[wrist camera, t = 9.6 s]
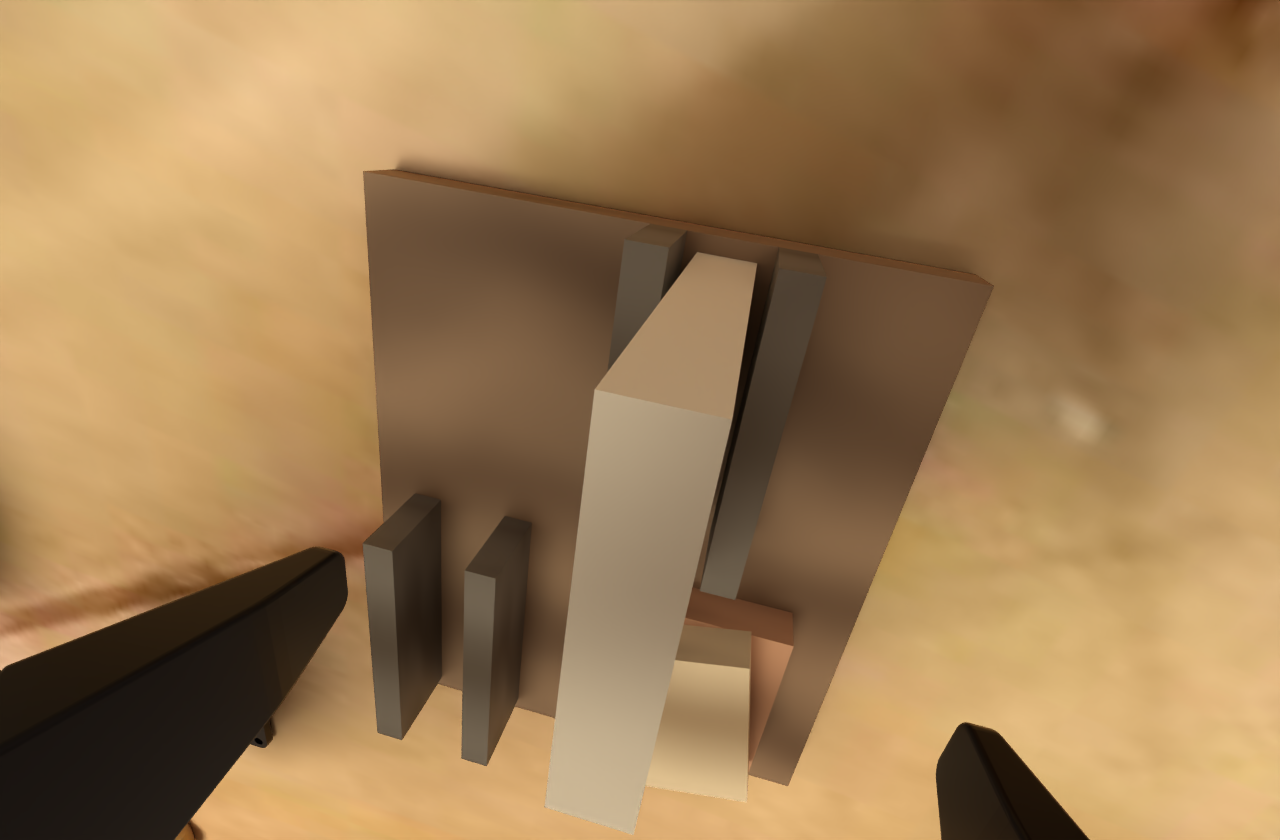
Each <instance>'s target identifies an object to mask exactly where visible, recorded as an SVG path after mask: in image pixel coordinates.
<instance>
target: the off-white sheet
mask: <svg viewBox="0 0 1280 840" xmlns="http://www.w3.org/2000/svg"><path fill="white" fill-rule="evenodd" d="M756 268H757V263H753V262H748V261H742V260H737V259H731V258H726V257H721V256H715V255H710V254H704V253H699V252H697V253H696V254H695V256H694V257H693V259H692V260H691V261H690V263H689V264H688V265H687V267H686V268H685V269H684V271H683V272H682V273H681V275H680V276H679V277H678V279H677V280H676V281H675V283H674V284H673V285H672V287H671V288H670V289H669V291H668V292H667V293H666V295H665V296H664V297H663V299H662V300H661V301H660V303H659V304H658V305H657V307H656V308H655V309H654V311H653V312H652V313H651V315H650V316H649V317H648V319H647V320H646V321H645V323H644V324H643V325H642V327H641V328H640V329H639V331H638V332H637V333H636V335H635V336H634V337H633V339H632V340H631V341H630V343H629V344H628V345H627V347H626V348H625V349H624V351H623V352H622V353H621V355H620V356H619V357H618V359H617V360H616V361H615V363H614V364H613V365H612V367H611V368H610V369H609V371H608V372H607V374H606V375H605V376H604V378H603V379H602V380H601V382H600V383H599V384H598V386H597V387H596V388H595V390H594V398H593V407H592V415H591V423H590V432H589V440H588V449H587V457H586V465H585V474H584V482H583V490H582V499H581V507H580V515H579V524H578V532H577V540H576V549H575V557H574V565H573V574H572V582H571V591H570V599H569V607H568V616H567V624H566V632H565V641H564V649H563V657H562V666H561V674H560V682H559V691H558V699H557V707H556V716H555V724H554V732H553V741H552V749H551V758H550V766H549V774H548V783H547V791H546V799H545V808H549V809H552V810H555V811H558V812H561V813H565V814H568V815H571V816H574V817H577V818H581V819H584V820H587V821H590V822H593V823H597V824H600V825H603V826H606V827H609V828H613V829H616V830H619V831H622V832H625V833H629V834H632V835H634V831H635V826H636V822H637V818H638V814H639V810H640V805H641V801H642V797H643V793H644V789H645V784H646V780H647V776H648V772H649V768H650V763H651V759H652V755H653V751H654V747H655V742H656V738H657V734H658V730H659V726H660V721H661V717H662V713H663V709H664V705H665V700H666V696H667V692H668V688H669V683H670V679H671V675H672V671H673V667H674V662H675V658H676V654H677V650H678V646H679V641H680V637H681V633H682V629H683V625H684V620H685V616H686V612H687V608H688V604H689V599H690V595H691V591H692V587H693V583H694V578H695V574H696V570H697V566H698V562H699V557H700V553H701V549H702V545H703V541H704V536H705V532H706V528H707V524H708V520H709V515H710V511H711V507H712V503H713V499H714V494H715V490H716V486H717V482H718V478H719V473H720V469H721V465H722V461H723V457H724V452H725V448H726V444H727V440H728V436H729V431H730V427H731V423H732V418H733V412H734V406H735V400H736V393H737V387H738V381H739V375H740V368H741V362H742V356H743V349H744V343H745V337H746V331H747V324H748V318H749V312H750V306H751V299H752V293H753V287H754V281H755V274H756Z"/></svg>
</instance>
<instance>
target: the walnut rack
mask: <svg viewBox="0 0 1280 840" xmlns="http://www.w3.org/2000/svg"><path fill="white" fill-rule="evenodd" d="M363 175H364V193H365V210H366V227H367V244H368V262H369V279H370V296H371V313H372V331H373V348H374V365H375V382H376V400H377V417H378V434H379V451H380V468H381V486H382V503H383V520H384V523H383V524H382V525H381V526H380V527H379V528H378V529H377V530H376V531H375V532H374V533H373V534H372V535H371V536H370V537H369V538H368V539H367V540H366V541H365V542H364V543H363V553H364V566H365V579H366V592H367V604H368V617H369V630H370V642H371V655H372V668H373V681H374V693H375V706H376V719H377V731H378V733H380V734H383V735H387V736H390V737H393V738H396V739H400V740H402V739H403V738H404V736H405V735H406V733H407V731H408V730H409V728H410V727H411V725H412V723H413V722H414V720H415V719H416V717H417V716H418V714H419V712H420V711H421V709H422V708H423V706H424V704H425V703H426V701H427V700H428V698H429V696H430V695H431V693H432V692H433V690H434V689H435V687H436V685H437V684H440V685H444V686H447V687H451V688H454V689H457V690H461V691H463V698H462V757H461V758H462V759H465V760H468V761H471V762H475V763H478V764H481V765H484V766H487V765H488V762H489V760H490V758H491V756H492V754H493V752H494V750H495V748H496V745H497V743H498V741H499V739H500V737H501V735H502V733H503V730H504V728H505V726H506V724H507V722H508V720H509V718H510V715H511V713H512V711H513V709H514V707H519V708H522V709H526V710H529V711H533V712H536V713H539V714H543V715H546V716H550V717H553V718H555V716H556V707H557V699H558V691H559V682H560V674H561V666H562V657H563V649H564V641H565V632H566V624H567V616H568V607H569V599H570V591H571V582H572V574H573V565H574V557H575V549H576V540H577V532H578V524H579V515H580V507H581V499H582V490H583V482H584V474H585V465H586V457H587V449H588V440H589V432H590V423H591V415H592V407H593V398H594V390H595V388H596V387H597V386H598V384H599V383H600V382H601V380H602V379H603V378H604V376H605V375H606V374H607V372H608V371H609V369H610V368H611V367H612V365H613V364H614V363H615V361H616V360H617V359H618V357H619V356H620V355H621V353H622V352H623V351H624V349H625V348H626V347H627V345H628V344H629V343H630V341H631V340H632V339H633V337H634V336H635V335H636V333H637V332H638V331H639V329H640V328H641V327H642V325H643V324H644V323H645V321H646V320H647V319H648V317H649V316H650V315H651V313H652V312H653V311H654V309H655V308H656V307H657V305H658V304H659V303H660V301H661V300H662V299H663V297H664V296H665V295H666V293H667V292H668V291H669V289H670V288H671V287H672V285H673V284H674V283H675V281H676V280H677V279H678V277H679V276H680V275H681V273H682V272H683V271H684V269H685V268H686V267H687V265H688V264H689V263H690V261H691V260H692V259H693V257H694V256H695V254H696V253H697V252H699V253H704V254H710V255H715V256H721V257H726V258H731V259H737V260H742V261H748V262H753V263H757V268H756V274H755V281H754V287H753V293H752V299H751V306H750V312H749V318H748V324H747V331H746V337H745V343H744V349H743V356H742V362H741V368H740V375H739V381H738V387H737V393H736V400H735V406H734V412H733V418H732V423H731V427H730V431H729V436H728V440H727V444H726V448H725V452H724V457H723V461H722V465H721V469H720V473H719V478H718V482H717V486H716V490H715V494H714V499H713V503H712V507H711V511H710V515H709V520H708V524H707V528H706V532H705V536H704V541H703V545H702V549H701V553H700V557H699V562H698V566H697V570H696V574H695V578H694V583H693V588H697V589H700V591H702V592H705V593H709V594H713V595H717V596H721V597H725V598H729V599H733V600H735V599H740V600H744V601H748V602H752V603H756V604H760V605H764V606H767V607H771V608H775V609H779V610H783V611H787V612H791V613H793V641H794V647H793V650H792V653H791V655H790V658H789V661H788V664H787V667H786V669H785V672H784V675H783V678H782V681H781V683H780V686H779V689H778V692H777V694H776V697H775V700H774V703H773V706H772V708H771V711H770V714H769V717H768V720H767V722H766V725H765V728H764V731H763V734H762V736H761V739H760V742H759V745H758V748H757V750H756V753H755V756H754V759H753V761H752V764H751V767H750V770H749V773H748V775H751V776H755V777H758V778H762V779H765V780H768V781H772V782H775V783H779V784H782V785H786V786H788V785H789V782H790V780H791V778H792V775H793V773H794V770H795V768H796V765H797V763H798V761H799V758H800V756H801V753H802V751H803V748H804V746H805V744H806V741H807V739H808V736H809V734H810V731H811V729H812V727H813V724H814V722H815V719H816V717H817V714H818V712H819V710H820V707H821V705H822V702H823V700H824V697H825V695H826V693H827V690H828V688H829V685H830V683H831V680H832V678H833V676H834V673H835V671H836V668H837V666H838V663H839V661H840V659H841V656H842V654H843V651H844V649H845V646H846V644H847V642H848V639H849V637H850V634H851V632H852V629H853V627H854V625H855V622H856V620H857V617H858V615H859V612H860V610H861V608H862V605H863V603H864V600H865V598H866V595H867V593H868V591H869V588H870V586H871V583H872V581H873V578H874V576H875V574H876V571H877V569H878V566H879V564H880V561H881V559H882V557H883V554H884V552H885V549H886V547H887V544H888V542H889V540H890V537H891V535H892V532H893V530H894V527H895V525H896V523H897V520H898V518H899V515H900V513H901V510H902V508H903V505H904V503H905V501H906V498H907V496H908V493H909V491H910V488H911V486H912V484H913V481H914V479H915V476H916V474H917V471H918V469H919V467H920V464H921V462H922V459H923V457H924V454H925V452H926V450H927V447H928V445H929V442H930V440H931V437H932V435H933V433H934V430H935V428H936V425H937V423H938V420H939V418H940V416H941V413H942V411H943V408H944V406H945V403H946V401H947V399H948V396H949V394H950V391H951V389H952V386H953V384H954V382H955V379H956V377H957V374H958V372H959V369H960V367H961V365H962V362H963V360H964V357H965V355H966V352H967V350H968V348H969V345H970V343H971V340H972V338H973V335H974V333H975V331H976V328H977V326H978V323H979V321H980V318H981V316H982V314H983V311H984V309H985V306H986V304H987V301H988V299H989V297H990V294H991V292H992V289H993V287H994V286H993V285H991V284H990V283H988V282H987V281H985V280H983V279H982V278H980V277H979V276H977V275H976V274H970V273H965V272H959V271H953V270H948V269H942V268H937V267H931V266H926V265H920V264H915V263H909V262H904V261H898V260H892V259H887V258H881V257H876V256H870V255H865V254H859V253H854V252H848V251H843V250H837V249H832V248H826V247H820V246H815V245H809V244H804V243H798V242H793V241H787V240H782V239H776V238H771V237H765V236H759V235H754V234H748V233H743V232H737V231H732V230H726V229H721V228H715V227H710V226H704V225H698V224H693V223H687V222H682V221H676V220H671V219H665V218H660V217H654V216H649V215H643V214H637V213H632V212H626V211H621V210H615V209H610V208H604V207H599V206H593V205H588V204H582V203H577V202H571V201H565V200H560V199H554V198H549V197H543V196H538V195H532V194H527V193H521V192H516V191H510V190H504V189H499V188H493V187H488V186H482V185H477V184H471V183H466V182H460V181H455V180H449V179H443V178H438V177H432V176H427V175H421V174H416V173H410V172H405V171H399V170H378V171H363Z"/></svg>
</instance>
